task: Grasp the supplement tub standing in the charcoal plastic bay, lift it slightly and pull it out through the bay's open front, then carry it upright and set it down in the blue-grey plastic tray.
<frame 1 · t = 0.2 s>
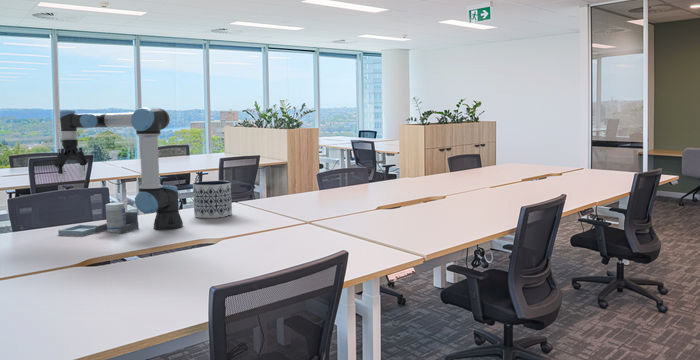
hand: (72, 178, 289), 28 cm above the table, fingers open, 13 cm apart
bay: (117, 230, 284), on the table
planter: (213, 215, 326), on the table
tray: (81, 232, 281), on the table
supplement tub: (117, 231, 284), on the table
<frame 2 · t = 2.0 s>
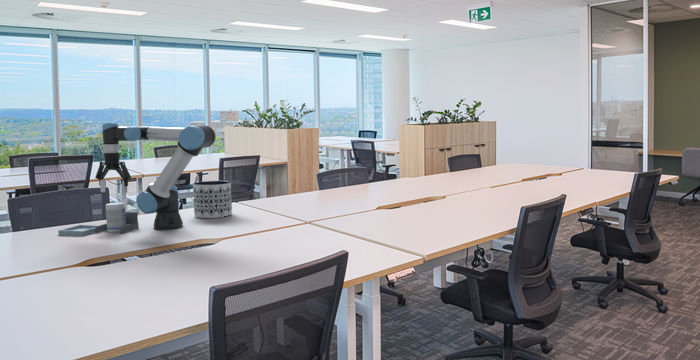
hand: (114, 192, 282), 21 cm above the table, fingers open, 13 cm apart
nothing on the table moved.
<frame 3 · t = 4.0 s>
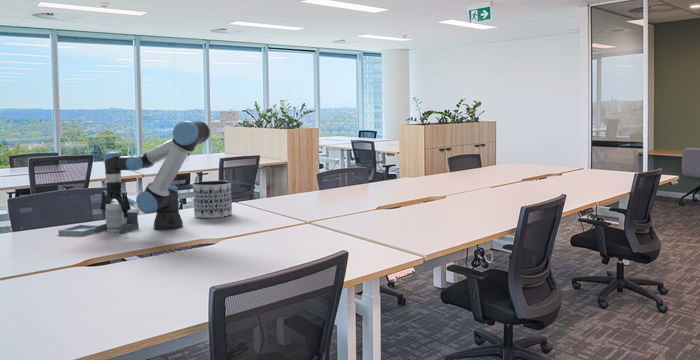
hand: (116, 223, 284), 4 cm above the table, fingers closed on supplement tub, 10 cm apart
supplement tub: (117, 231, 284), on the table, touching gripper
everything else where it was.
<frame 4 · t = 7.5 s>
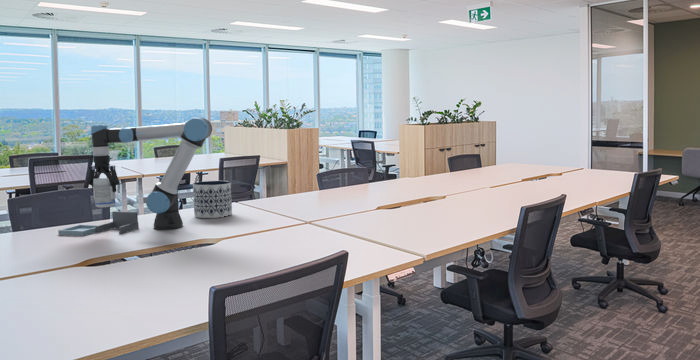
hand: (104, 198, 275), 19 cm above the table, fingers closed on supplement tub, 10 cm apart
supplement tub: (105, 206, 275), point 14 cm above the table, touching gripper
everything else where it was.
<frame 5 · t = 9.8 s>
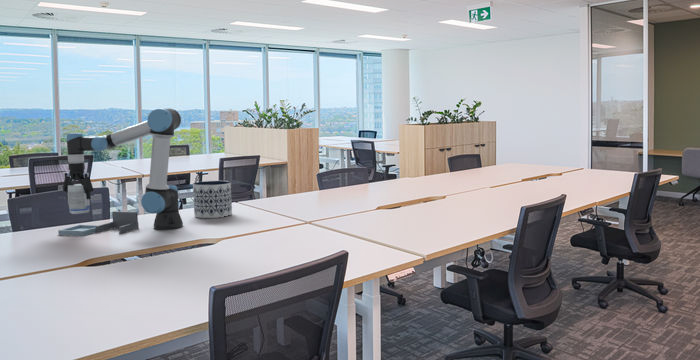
hand: (79, 204, 280), 15 cm above the table, fingers closed on supplement tub, 10 cm apart
supplement tub: (79, 213, 280), point 10 cm above the table, touching gripper
everything else where it was.
when the fingers open (7 cm above the table, at t = 11.5 s): supplement tub drops 1 cm, resting on tray.
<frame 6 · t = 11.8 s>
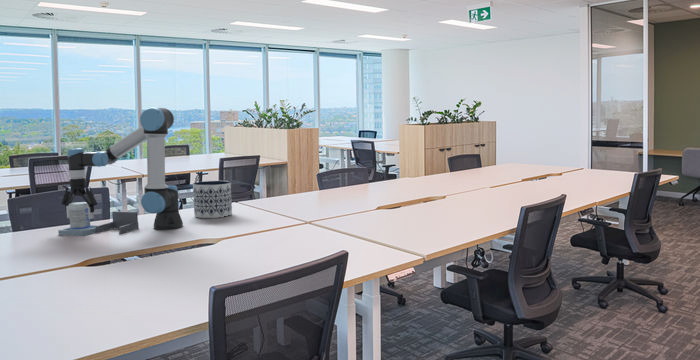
hand: (80, 218, 280), 8 cm above the table, fingers open, 13 cm apart
supplement tub: (80, 231, 281), point 1 cm above the table, touching tray
everything else where it was.
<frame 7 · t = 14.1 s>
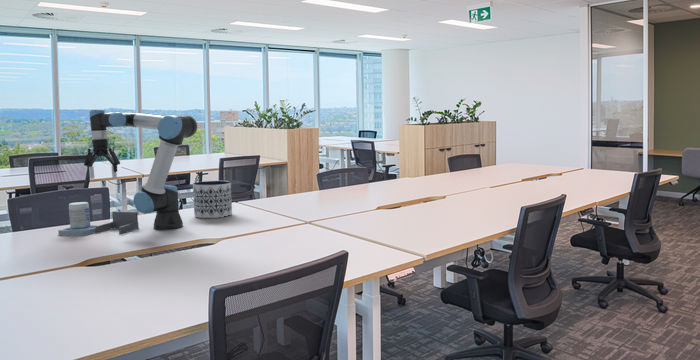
hand: (103, 178, 286), 28 cm above the table, fingers open, 13 cm apart
nothing on the table moved.
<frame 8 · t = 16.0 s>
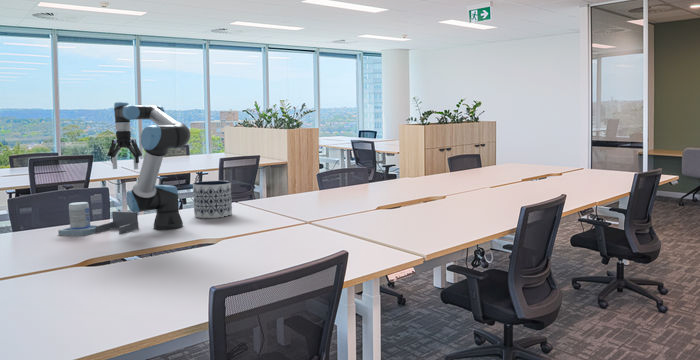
hand: (125, 169, 295), 32 cm above the table, fingers open, 13 cm apart
nothing on the table moved.
at the end: supplement tub inside the target area on the tray (0.3 cm from its centre), point 0.8 cm above the tray's base; supplement tub tilted 0°; the gripper is holding nothing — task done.
